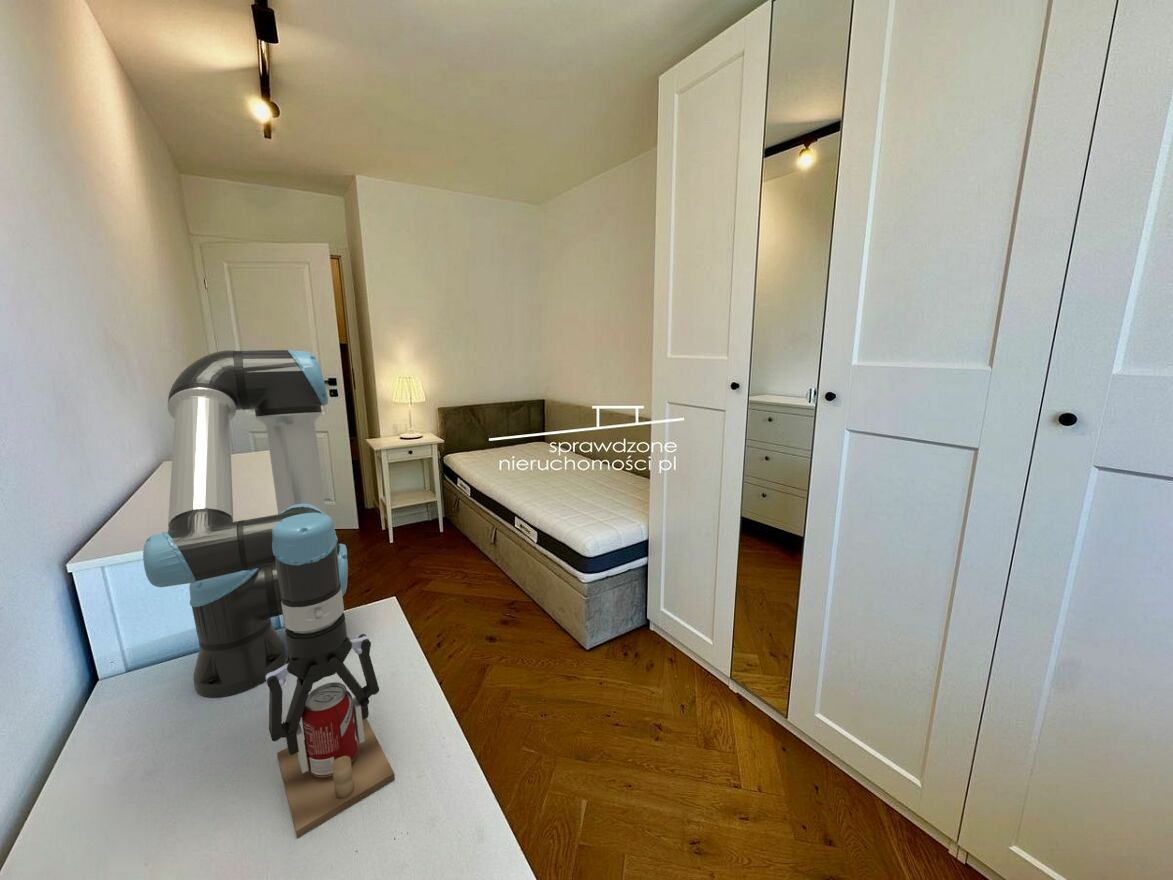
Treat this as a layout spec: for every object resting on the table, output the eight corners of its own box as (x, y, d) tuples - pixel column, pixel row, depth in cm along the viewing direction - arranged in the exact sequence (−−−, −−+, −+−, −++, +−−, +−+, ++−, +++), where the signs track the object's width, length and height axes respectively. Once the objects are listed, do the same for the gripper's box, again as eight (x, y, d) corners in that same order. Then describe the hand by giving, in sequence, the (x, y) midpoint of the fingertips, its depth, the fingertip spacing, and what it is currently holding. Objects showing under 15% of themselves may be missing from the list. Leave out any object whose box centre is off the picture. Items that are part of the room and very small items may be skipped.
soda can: (337, 785, 68) (328, 716, 66) (298, 776, 70) (288, 708, 67) (367, 747, 75) (360, 682, 72) (330, 739, 76) (323, 676, 74)
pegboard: (277, 759, 74) (272, 726, 73) (363, 717, 82) (360, 687, 81) (297, 838, 62) (291, 801, 61) (394, 779, 71) (391, 746, 69)
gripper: (231, 663, 58) (257, 811, 62) (394, 605, 71) (406, 731, 75) (226, 635, 63) (250, 772, 68) (379, 586, 76) (390, 704, 81)
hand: (332, 750), depth 72 cm, fingers open, 7 cm apart
